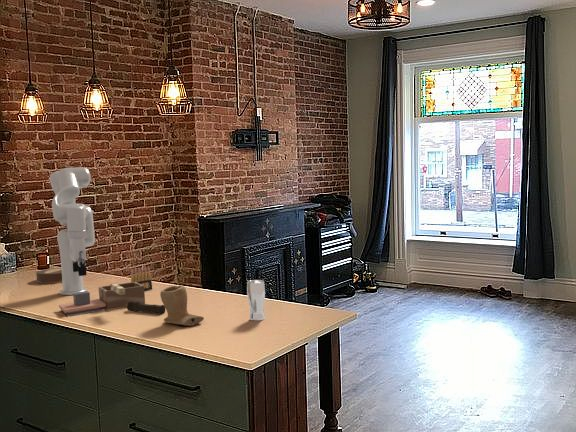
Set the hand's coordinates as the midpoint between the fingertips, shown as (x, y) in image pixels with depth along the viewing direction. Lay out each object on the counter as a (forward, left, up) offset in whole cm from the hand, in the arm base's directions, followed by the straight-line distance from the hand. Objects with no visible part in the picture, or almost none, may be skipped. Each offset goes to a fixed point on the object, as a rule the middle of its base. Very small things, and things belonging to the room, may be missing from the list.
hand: (79, 273), depth 273 cm
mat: (+1, 0, -16) cm, 16 cm away
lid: (+1, 0, -16) cm, 16 cm away
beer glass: (+63, +52, -16) cm, 83 cm away
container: (-81, +5, -17) cm, 83 cm away
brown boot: (+50, +25, -16) cm, 58 cm away
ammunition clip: (-20, +33, -16) cm, 42 cm away
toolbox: (+1, +17, -16) cm, 24 cm away
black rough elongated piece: (+23, +20, -17) cm, 35 cm away
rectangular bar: (+18, +11, -7) cm, 22 cm away
